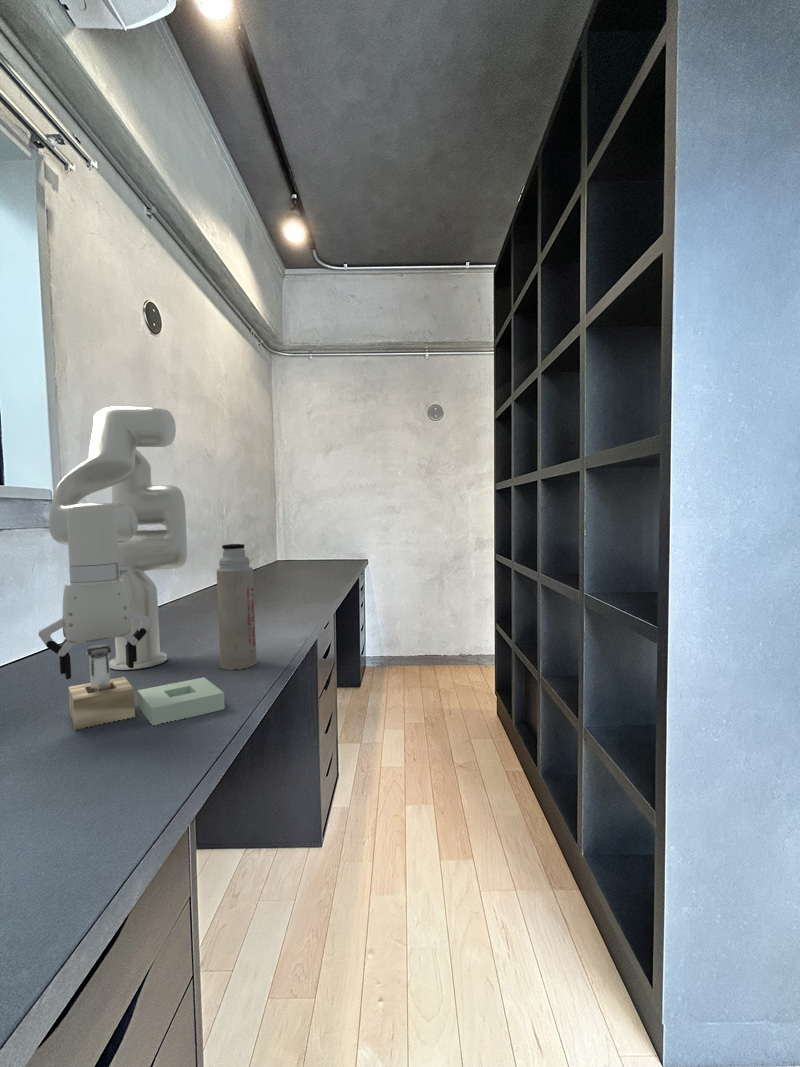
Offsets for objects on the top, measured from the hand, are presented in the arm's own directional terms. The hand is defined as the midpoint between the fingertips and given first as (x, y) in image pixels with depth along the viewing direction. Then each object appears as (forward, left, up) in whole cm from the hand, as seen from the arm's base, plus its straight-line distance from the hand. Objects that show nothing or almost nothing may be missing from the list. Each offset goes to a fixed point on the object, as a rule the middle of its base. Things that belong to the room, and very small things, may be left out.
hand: (99, 671), depth 96 cm
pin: (0, 0, -8) cm, 8 cm away
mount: (0, 0, -8) cm, 8 cm away
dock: (+5, +12, -8) cm, 15 cm away
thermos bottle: (-16, +30, -8) cm, 35 cm away
